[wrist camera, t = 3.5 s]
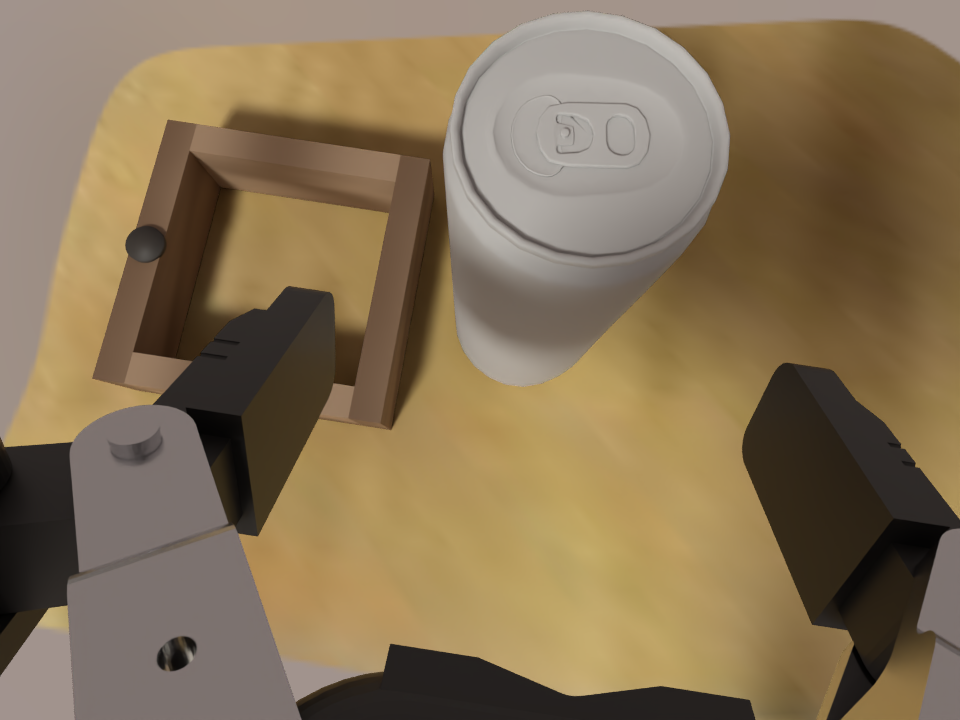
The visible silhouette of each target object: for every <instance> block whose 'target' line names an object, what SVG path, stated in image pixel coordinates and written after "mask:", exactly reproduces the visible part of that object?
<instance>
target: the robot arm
mask: <svg viewBox="0 0 960 720" xmlns="http://www.w3.org/2000/svg"><path fill="white" fill-rule="evenodd" d="M334 377H335V313H334V299H333V296H332V294H331V293H330V292H325V291H318V290H312V289H305V288H298V287H292V286H288V287H286V288H285V289H284V290H283V292H282V293H281V294H280V295H279V296H278V298H277V299H276V300H275V301H274V302H273V304H272V305H271V306H270V307H269V308H268V309H267V310H260V309H253V310H251V311H249V312H247V313H245V314H243V315H241V316H239V317H237V318H235V319H233V320H231V321H229V322H228V323H227V325H226V326H225V327H224V328H223V329H222V330H221V331H220V332H219V333H218V334H217V335H216V337H215V338H214V341H213V342H210V343H209V344H208V345H207V346H206V347H205V348H204V350H203V351H202V352H201V356H197V357H196V358H195V359H194V360H193V361H192V363H191V364H190V365H189V366H188V367H187V368H186V369H185V370H184V371H183V372H182V373H181V375H180V376H179V377H178V378H177V379H176V380H175V381H174V382H173V383H172V384H171V385H170V386H169V388H168V389H167V390H166V391H165V392H164V393H163V394H162V395H161V396H160V397H159V398H158V399H157V401H156V402H155V403H154V404H153V405H142V406H135V407H129V408H125V409H122V410H118V411H115V412H113V413H110V414H107V415H105V416H103V417H101V418H99V419H97V420H96V421H94V422H92V423H91V424H90V425H88V426H87V427H86V428H84V429H83V430H82V431H81V432H80V433H79V434H78V435H77V437H76V438H75V440H74V441H73V442H69V443H56V444H43V445H29V446H15V447H4V445H3V442H2V440H1V438H0V675H1V674H2V673H3V671H4V670H5V669H6V667H7V666H8V664H9V663H10V662H11V660H12V659H13V657H14V656H15V655H16V653H17V652H18V650H19V649H20V648H21V646H22V645H23V643H24V642H25V641H26V639H27V638H28V636H29V635H30V634H31V632H32V631H33V629H34V628H35V627H36V625H37V624H38V622H39V621H40V620H41V618H42V617H43V615H44V614H45V613H46V611H47V610H48V608H52V607H59V606H66V605H68V618H69V634H70V650H71V665H72V679H73V680H72V681H73V697H74V713H75V720H755V716H754V713H753V710H752V706H751V703H750V700H746V699H740V698H734V697H727V696H721V695H714V694H708V693H702V692H695V691H689V690H682V689H676V688H670V687H663V686H659V687H650V688H642V689H634V690H626V691H618V692H610V693H602V694H594V695H586V696H569V695H565V694H562V693H559V692H557V691H555V690H552V689H550V688H548V687H545V686H543V685H541V684H538V683H536V682H534V681H531V680H529V679H527V678H525V677H522V676H520V675H518V674H515V673H513V672H511V671H508V670H506V669H504V668H501V667H499V666H497V665H494V664H492V663H490V662H487V661H485V660H483V659H480V658H478V657H471V656H465V655H459V654H452V653H446V652H439V651H433V650H427V649H420V648H414V647H407V646H401V645H395V644H390V647H389V652H388V656H387V661H386V665H385V669H384V672H377V673H369V674H364V675H360V676H356V677H352V678H348V679H344V680H341V681H339V682H336V683H334V684H331V685H328V686H326V687H323V688H321V689H319V690H317V691H315V692H313V693H311V694H309V695H307V696H306V697H304V698H302V699H300V700H298V701H297V702H295V699H294V696H293V693H292V690H291V687H290V685H289V682H288V679H287V676H286V673H285V670H284V667H283V664H282V661H281V658H280V655H279V652H278V649H277V646H276V643H275V641H274V638H273V635H272V632H271V629H270V626H269V623H268V620H267V617H266V614H265V611H264V608H263V605H262V602H261V600H260V597H259V594H258V591H257V588H256V585H255V582H254V579H253V576H252V573H251V570H250V567H249V564H248V561H247V559H246V556H245V553H244V550H243V547H242V544H241V541H240V538H239V535H238V533H239V534H246V535H252V536H258V535H259V533H260V531H261V529H262V527H263V525H264V523H265V522H266V520H267V518H268V516H269V514H270V512H271V510H272V508H273V506H274V504H275V502H276V500H277V498H278V496H279V494H280V492H281V490H282V488H283V486H284V484H285V483H286V481H287V479H288V477H289V475H290V473H291V471H292V469H293V467H294V465H295V463H296V461H297V459H298V457H299V455H300V453H301V451H302V449H303V447H304V445H305V444H306V442H307V440H308V438H309V436H310V434H311V432H312V430H313V428H314V426H315V424H316V422H317V420H318V418H319V416H320V414H321V412H322V410H323V408H324V406H325V404H326V403H327V401H328V399H329V396H330V394H331V390H332V387H333V382H334ZM742 454H743V460H744V464H745V466H746V469H747V471H748V473H749V476H750V478H751V480H752V483H753V485H754V488H755V490H756V492H757V495H758V497H759V500H760V502H761V504H762V507H763V509H764V511H765V514H766V516H767V519H768V521H769V523H770V526H771V528H772V530H773V533H774V535H775V538H776V540H777V542H778V545H779V547H780V549H781V552H782V554H783V557H784V559H785V561H786V564H787V566H788V569H789V571H790V573H791V576H792V578H793V580H794V583H795V585H796V588H797V590H798V592H799V595H800V597H801V599H802V602H803V604H804V607H805V609H806V611H807V614H808V616H809V619H810V621H811V623H812V625H818V626H824V627H830V628H837V629H843V630H848V632H849V634H850V636H851V638H852V641H851V642H850V643H849V645H848V646H847V647H846V648H845V649H844V650H843V652H842V654H841V656H840V658H839V661H838V664H837V666H836V669H835V672H834V674H833V677H832V679H831V682H830V685H829V687H828V690H827V693H826V695H825V698H824V701H823V703H822V706H821V708H820V711H819V714H818V716H817V719H816V720H960V520H959V518H958V517H957V516H956V514H955V513H954V512H953V511H952V509H951V508H950V507H949V505H948V504H947V503H946V501H945V500H944V499H943V498H942V496H941V495H940V494H939V492H938V491H937V490H936V489H935V487H934V486H933V485H932V483H931V482H930V481H929V480H928V478H927V477H926V476H925V474H924V473H923V472H922V471H921V469H920V468H916V467H915V464H916V463H915V462H914V460H913V459H912V458H911V456H910V455H909V454H908V453H907V451H906V450H905V449H901V444H900V442H899V441H898V440H897V438H896V437H895V436H894V435H893V433H892V432H891V431H890V429H889V428H888V427H887V426H886V424H885V423H884V422H883V421H882V420H880V419H879V418H878V417H877V416H875V415H874V414H873V413H871V412H870V411H869V410H868V409H866V408H865V407H864V406H862V405H861V404H860V403H859V402H857V401H856V400H855V399H854V397H853V396H852V395H851V393H850V392H849V391H848V389H847V388H846V387H845V385H844V384H843V383H842V381H841V380H840V379H839V377H838V376H837V375H836V374H835V372H834V371H832V370H830V369H825V368H818V367H812V366H805V365H799V364H792V363H784V364H782V365H780V366H779V367H778V368H777V369H776V371H775V372H774V374H773V376H772V378H771V380H770V382H769V384H768V386H767V388H766V390H765V392H764V394H763V396H762V398H761V400H760V402H759V404H758V406H757V408H756V410H755V412H754V414H753V416H752V418H751V420H750V422H749V424H748V426H747V428H746V431H745V434H744V438H743V445H742Z"/></svg>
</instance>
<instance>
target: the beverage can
mask: <svg viewBox="0 0 960 720" xmlns="http://www.w3.org/2000/svg"><path fill="white" fill-rule="evenodd" d="M729 145H730V133H729V128H728V124H727V119H726V115H725V110H724V106H723V102H722V100H721V98H720V97H719V95H718V93H717V91H716V89H715V87H714V85H713V83H712V81H711V79H710V77H709V76H708V74H707V72H706V71H705V70H704V69H703V68H702V67H701V66H700V65H699V64H698V62H697V61H696V60H695V59H694V58H693V57H692V56H691V55H690V54H689V53H688V52H687V50H686V49H685V48H684V47H682V46H681V45H679V44H678V43H676V42H675V41H673V40H672V39H670V38H669V37H667V36H666V35H665V34H663V33H662V32H660V31H659V30H657V29H656V28H653V27H651V26H648V25H646V24H643V23H640V22H638V21H635V20H632V19H630V18H627V17H625V16H621V15H614V14H608V13H601V12H594V11H578V12H567V13H554V14H550V15H547V16H544V17H541V18H538V19H535V20H532V21H529V22H526V23H523V24H520V25H519V26H517V27H516V28H514V29H512V30H511V31H509V32H508V33H506V34H504V35H503V36H501V37H500V38H498V39H497V40H495V41H493V42H492V43H491V44H490V45H489V47H488V48H487V49H486V50H485V51H484V52H483V53H482V54H481V55H480V56H479V57H478V58H477V60H476V61H475V62H474V63H473V64H472V65H471V66H470V67H469V69H468V71H467V73H466V75H465V77H464V79H463V81H462V83H461V85H460V87H459V89H458V91H457V94H456V96H455V100H454V106H453V111H452V114H451V116H450V119H449V122H448V128H447V133H446V139H445V144H444V150H443V164H444V177H445V190H446V203H447V216H448V229H449V242H450V254H451V267H452V280H453V293H454V306H455V319H456V328H457V336H458V338H459V341H460V343H461V346H462V348H463V351H464V353H465V354H466V355H467V357H468V358H469V359H470V361H471V362H472V363H473V365H474V366H475V367H476V368H478V369H479V370H480V371H481V372H483V373H484V374H485V375H487V376H488V377H489V378H492V379H494V380H496V381H499V382H501V383H503V384H506V385H514V386H521V387H525V386H530V385H536V384H542V383H544V382H546V381H548V380H551V379H553V378H555V377H558V376H559V375H561V374H562V373H564V372H565V371H567V370H568V369H569V368H571V367H572V366H573V365H574V364H575V363H576V362H577V361H578V360H579V359H580V358H581V357H582V356H583V355H584V354H585V353H586V352H587V351H588V349H589V348H590V347H591V346H592V345H593V344H594V343H595V342H596V341H597V340H598V339H599V338H600V337H601V336H602V335H603V334H604V333H605V332H606V331H607V330H608V329H609V328H610V327H611V326H612V325H613V324H614V323H615V322H616V321H617V320H618V319H619V318H620V317H621V316H622V315H623V314H624V313H625V312H626V311H627V310H628V309H629V308H630V307H631V306H632V305H633V304H634V303H635V302H636V301H637V300H638V299H639V298H640V297H641V296H642V295H643V294H644V293H645V292H646V291H647V290H648V289H649V288H650V287H651V286H652V285H653V284H654V283H655V282H656V281H657V280H658V279H659V278H660V277H661V275H662V274H663V273H664V272H665V271H666V270H667V269H668V268H669V267H670V266H671V265H672V264H673V263H674V262H675V261H676V260H677V259H678V258H679V257H680V256H681V255H682V253H683V252H684V251H685V249H686V248H687V247H688V246H689V244H690V243H691V242H692V240H693V239H694V238H695V236H696V235H697V234H698V233H699V231H700V230H701V229H702V227H703V226H704V225H705V223H706V221H707V218H708V215H709V213H710V210H711V208H712V205H713V204H714V203H715V201H716V199H717V196H718V194H719V191H720V188H721V186H722V183H723V181H724V178H725V175H726V173H727V170H728V159H729Z"/></svg>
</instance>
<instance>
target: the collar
mask: <svg viewBox="0 0 960 720" xmlns="http://www.w3.org/2000/svg"><path fill="white" fill-rule="evenodd" d="M221 187H223V188H230V189H236V190H243V191H249V192H256V193H262V194H269V195H276V196H282V197H289V198H295V199H302V200H308V201H315V202H322V203H328V204H335V205H341V206H348V207H354V208H361V209H368V210H374V211H381V212H387V213H389V216H388V221H387V226H386V231H385V236H384V241H383V246H382V251H381V256H380V261H379V266H378V271H377V276H376V281H375V287H374V292H373V297H372V302H371V307H370V312H369V317H368V322H367V327H366V332H365V337H364V342H363V347H362V352H361V357H360V362H359V367H358V372H357V377H356V382H355V387H354V386H348V385H341V384H335V383H333V387H332V390H331V394H330V396H329V399H328V401H327V403H326V404H325V406H324V408H323V410H322V412H321V414H320V416H319V418H318V419H324V420H331V421H337V422H343V423H350V424H356V425H363V426H369V427H375V428H382V429H388V430H391V427H392V422H393V416H394V411H395V405H396V400H397V395H398V389H399V384H400V378H401V373H402V367H403V362H404V356H405V351H406V346H407V340H408V335H409V329H410V324H411V318H412V313H413V307H414V302H415V297H416V291H417V286H418V280H419V275H420V269H421V264H422V259H423V253H424V248H425V242H426V237H427V231H428V226H429V220H430V215H431V210H432V204H433V199H434V189H433V180H432V172H431V164H430V159H424V158H418V157H411V156H404V155H398V154H391V153H385V152H378V151H371V150H365V149H358V148H352V147H345V146H338V145H332V144H325V143H318V142H312V141H305V140H299V139H292V138H285V137H279V136H272V135H266V134H259V133H252V132H246V131H239V130H232V129H226V128H219V127H213V126H206V125H199V124H193V123H186V122H180V121H173V120H168V121H167V124H166V128H165V131H164V135H163V138H162V142H161V145H160V148H159V152H158V155H157V159H156V162H155V165H154V169H153V172H152V176H151V179H150V183H149V186H148V189H147V193H146V196H145V200H144V203H143V207H142V210H141V213H140V217H139V220H138V224H137V227H136V229H135V230H133V231H132V232H131V233H130V234H129V236H128V237H127V240H126V245H125V246H126V251H127V253H128V258H127V261H126V265H125V268H124V272H123V275H122V278H121V282H120V285H119V289H118V292H117V295H116V299H115V302H114V306H113V309H112V313H111V316H110V319H109V323H108V326H107V330H106V333H105V337H104V340H103V343H102V347H101V350H100V354H99V357H98V360H97V364H96V367H95V371H94V374H93V378H92V379H96V380H100V381H104V382H108V383H111V384H115V385H119V386H123V387H127V388H131V389H134V390H139V391H145V392H151V393H158V394H163V393H164V392H165V391H166V390H167V389H168V388H169V386H170V385H171V384H172V383H173V382H174V381H175V380H176V379H177V378H178V377H179V376H180V375H181V373H182V372H183V371H184V370H185V369H186V368H187V367H188V366H189V365H190V364H191V363H192V361H187V360H181V359H175V358H176V354H177V350H178V346H179V343H180V339H181V335H182V331H183V327H184V324H185V320H186V316H187V312H188V309H189V305H190V301H191V297H192V293H193V290H194V286H195V282H196V278H197V275H198V271H199V267H200V263H201V259H202V256H203V252H204V248H205V244H206V241H207V237H208V233H209V229H210V226H211V222H212V218H213V214H214V210H215V207H216V203H217V199H218V195H219V192H220V188H221Z"/></svg>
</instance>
